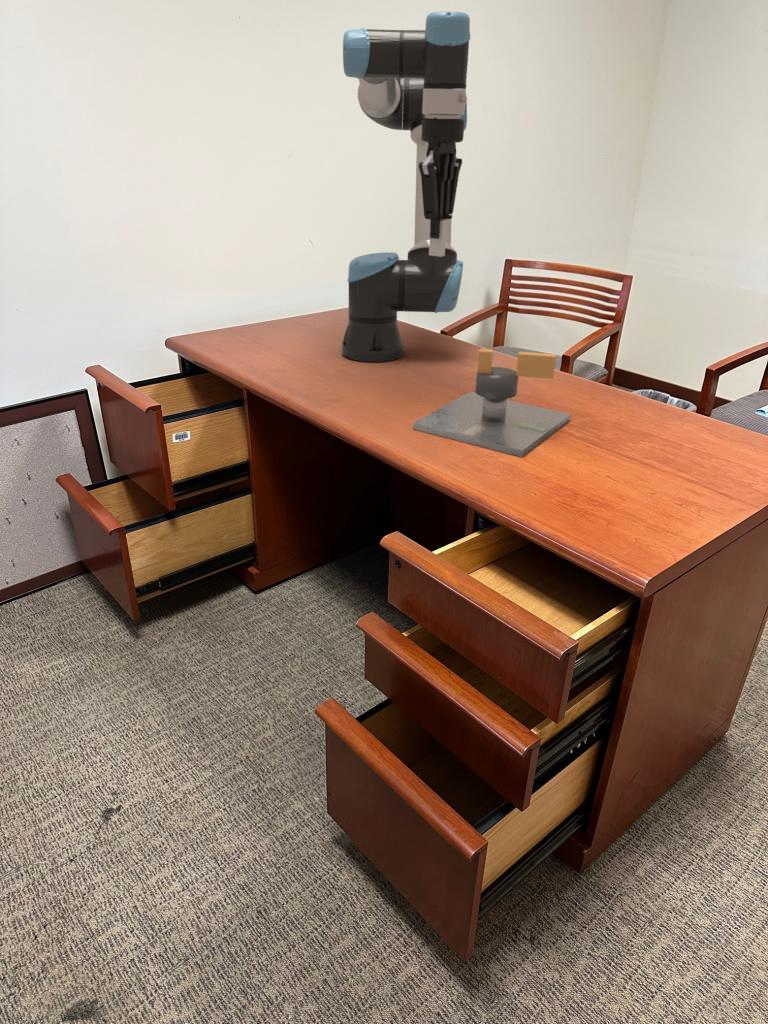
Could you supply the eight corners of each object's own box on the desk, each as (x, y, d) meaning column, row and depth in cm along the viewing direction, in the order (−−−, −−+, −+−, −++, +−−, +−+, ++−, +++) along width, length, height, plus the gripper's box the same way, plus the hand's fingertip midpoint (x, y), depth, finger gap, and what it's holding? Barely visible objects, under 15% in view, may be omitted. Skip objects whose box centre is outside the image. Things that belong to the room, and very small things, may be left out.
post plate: (469, 397, 152) (471, 369, 150) (570, 419, 142) (574, 390, 139) (413, 428, 136) (414, 398, 133) (521, 457, 126) (525, 424, 123)
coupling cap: (473, 397, 133) (476, 355, 130) (477, 384, 140) (480, 344, 136) (550, 403, 131) (555, 361, 127) (551, 390, 138) (556, 349, 134)
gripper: (445, 118, 124) (438, 263, 136) (478, 116, 133) (468, 252, 145) (406, 117, 127) (403, 258, 139) (441, 115, 137) (435, 248, 149)
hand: (436, 255), depth 142 cm, fingers closed
